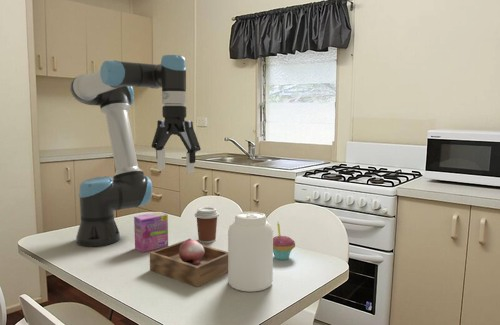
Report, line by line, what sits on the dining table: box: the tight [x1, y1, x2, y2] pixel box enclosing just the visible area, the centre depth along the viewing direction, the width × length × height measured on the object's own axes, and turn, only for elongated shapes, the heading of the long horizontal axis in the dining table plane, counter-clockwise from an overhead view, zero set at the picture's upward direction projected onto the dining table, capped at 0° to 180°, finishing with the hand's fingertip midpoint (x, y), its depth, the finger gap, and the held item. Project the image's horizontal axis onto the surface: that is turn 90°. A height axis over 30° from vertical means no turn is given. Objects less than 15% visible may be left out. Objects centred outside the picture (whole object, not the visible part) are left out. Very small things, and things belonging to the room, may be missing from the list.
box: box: [133, 211, 169, 253], centre depth 143 cm, size 10×6×12 cm, turn 131°
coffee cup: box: [194, 206, 220, 244], centre depth 151 cm, size 9×9×12 cm
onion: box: [179, 238, 205, 264], centre depth 123 cm, size 8×8×7 cm
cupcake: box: [273, 222, 296, 261], centre depth 134 cm, size 9×8×12 cm
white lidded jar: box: [227, 210, 274, 293], centre depth 113 cm, size 12×12×20 cm
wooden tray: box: [149, 239, 228, 288], centre depth 123 cm, size 20×15×6 cm
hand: (175, 171), depth 131 cm, fingers open, 13 cm apart
